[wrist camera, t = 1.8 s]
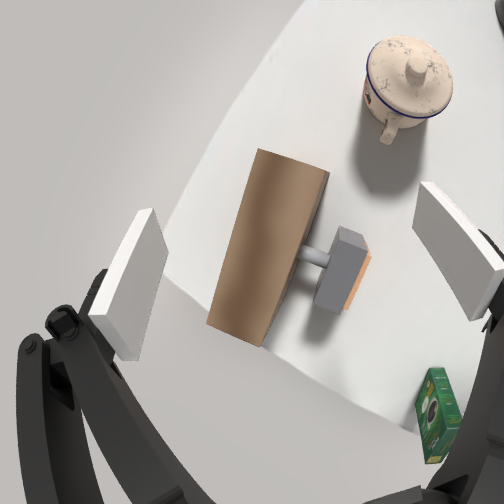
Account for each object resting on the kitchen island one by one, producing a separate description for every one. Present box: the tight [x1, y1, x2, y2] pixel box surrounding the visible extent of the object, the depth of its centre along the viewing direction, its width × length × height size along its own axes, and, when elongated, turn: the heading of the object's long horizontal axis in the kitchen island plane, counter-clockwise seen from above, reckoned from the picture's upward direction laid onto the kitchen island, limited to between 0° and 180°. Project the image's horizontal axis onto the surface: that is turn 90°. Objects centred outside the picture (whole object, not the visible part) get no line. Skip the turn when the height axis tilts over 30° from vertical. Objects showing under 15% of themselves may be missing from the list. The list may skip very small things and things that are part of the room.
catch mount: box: [206, 148, 330, 347], centre depth 33 cm, size 6×18×12 cm, turn 162°
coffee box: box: [415, 367, 462, 464], centre depth 31 cm, size 8×3×13 cm, turn 179°
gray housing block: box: [297, 226, 371, 315], centre depth 32 cm, size 9×7×8 cm
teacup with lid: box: [364, 36, 453, 145], centre depth 25 cm, size 12×9×12 cm
